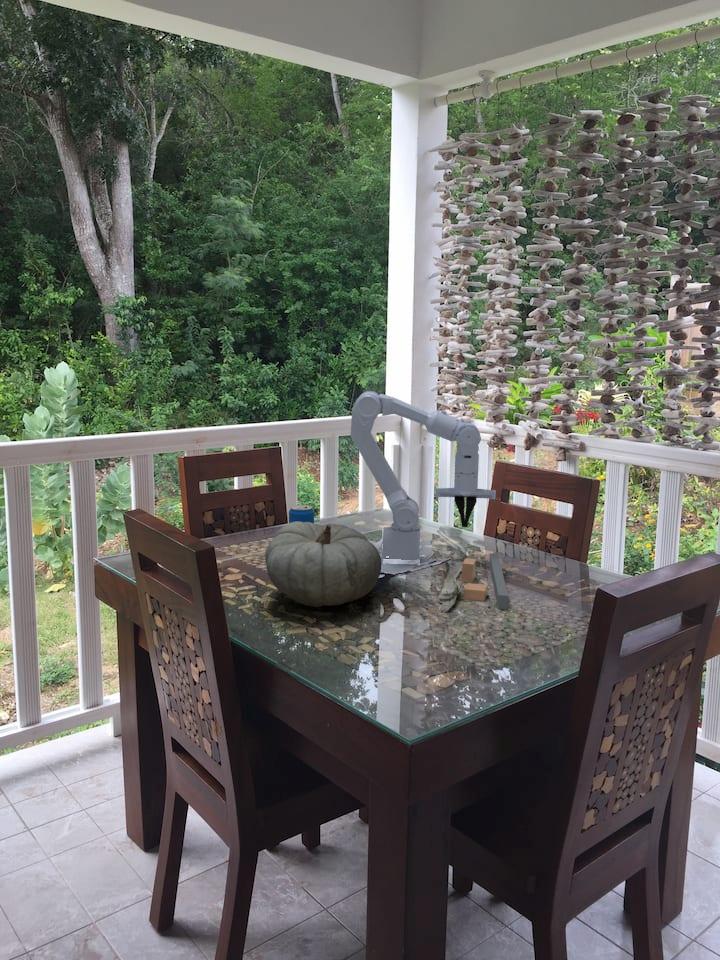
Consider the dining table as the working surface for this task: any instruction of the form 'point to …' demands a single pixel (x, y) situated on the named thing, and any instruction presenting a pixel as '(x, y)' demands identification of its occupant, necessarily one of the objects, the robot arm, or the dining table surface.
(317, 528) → the gourd
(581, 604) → the dining table surface
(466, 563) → the tile
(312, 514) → the beverage can
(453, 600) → the driftwood
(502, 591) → the slate curb
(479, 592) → the tile
